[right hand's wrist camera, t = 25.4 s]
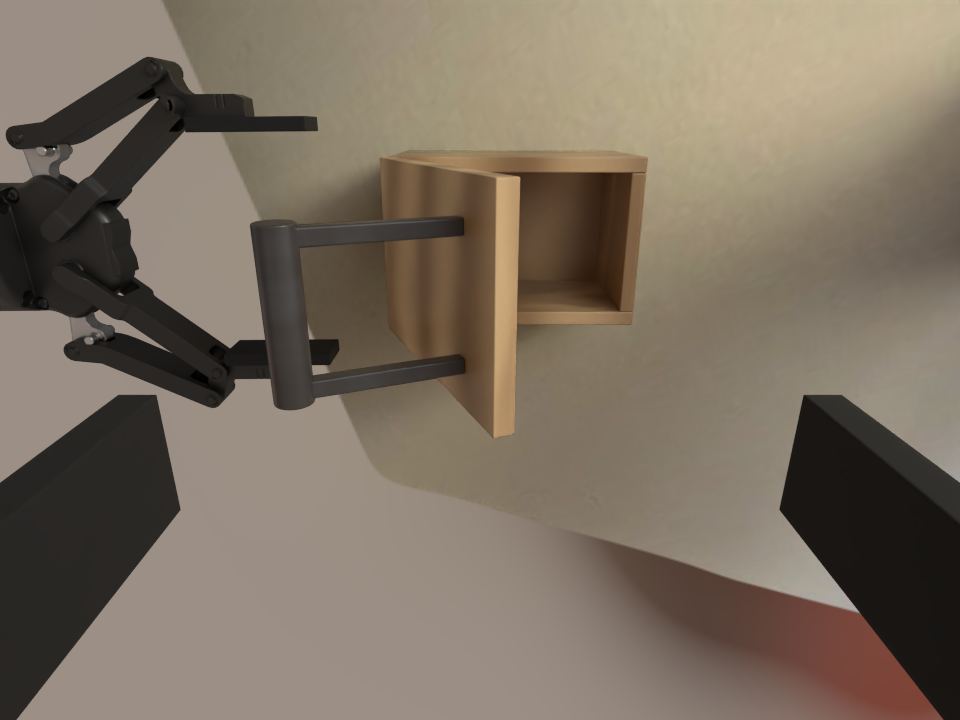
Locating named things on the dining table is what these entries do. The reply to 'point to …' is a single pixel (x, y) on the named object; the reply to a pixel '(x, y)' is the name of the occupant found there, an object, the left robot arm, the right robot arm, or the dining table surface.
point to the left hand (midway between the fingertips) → (324, 245)
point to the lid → (411, 289)
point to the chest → (569, 230)
